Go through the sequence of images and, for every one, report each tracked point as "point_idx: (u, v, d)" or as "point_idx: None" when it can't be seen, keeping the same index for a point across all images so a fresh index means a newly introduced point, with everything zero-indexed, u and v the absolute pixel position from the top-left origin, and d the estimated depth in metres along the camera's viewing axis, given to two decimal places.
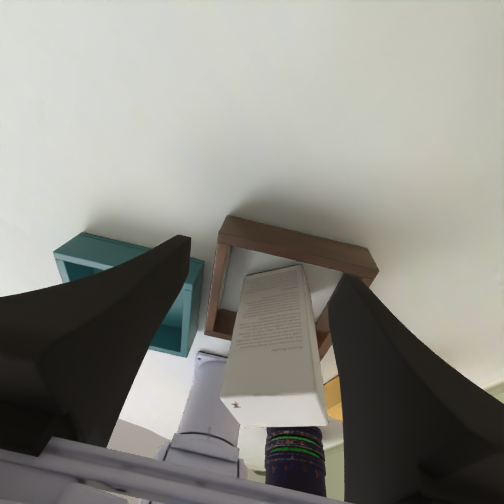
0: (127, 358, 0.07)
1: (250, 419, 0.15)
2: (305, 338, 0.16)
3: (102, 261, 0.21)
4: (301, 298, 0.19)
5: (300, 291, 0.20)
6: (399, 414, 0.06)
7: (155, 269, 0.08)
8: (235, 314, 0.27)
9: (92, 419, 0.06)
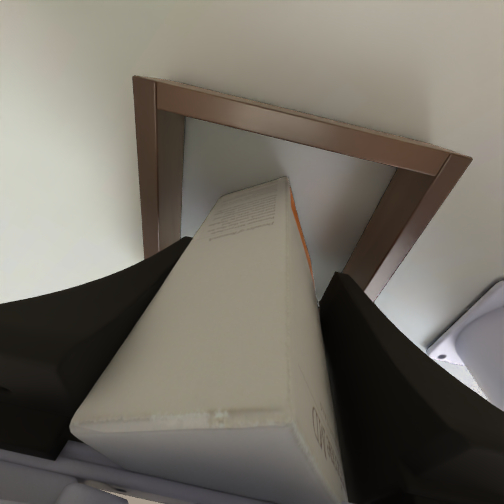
0: None
1: None
2: None
3: None
4: None
5: None
6: (383, 410, 0.06)
7: (165, 272, 0.08)
8: None
9: None
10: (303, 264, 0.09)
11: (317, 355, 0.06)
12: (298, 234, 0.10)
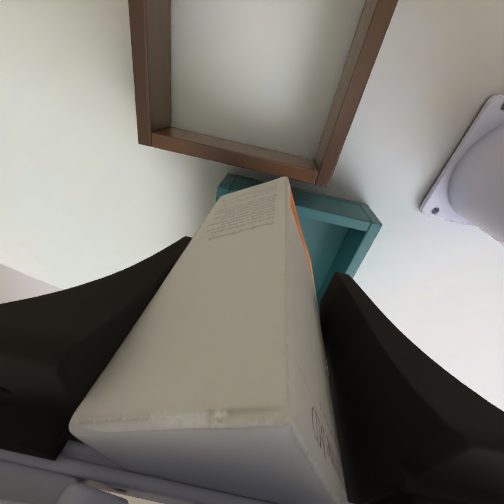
0: None
1: None
2: None
3: None
4: None
5: None
6: (383, 410, 0.06)
7: (165, 272, 0.08)
8: (323, 133, 0.17)
9: None
10: (303, 264, 0.09)
11: (316, 355, 0.06)
12: (298, 234, 0.10)
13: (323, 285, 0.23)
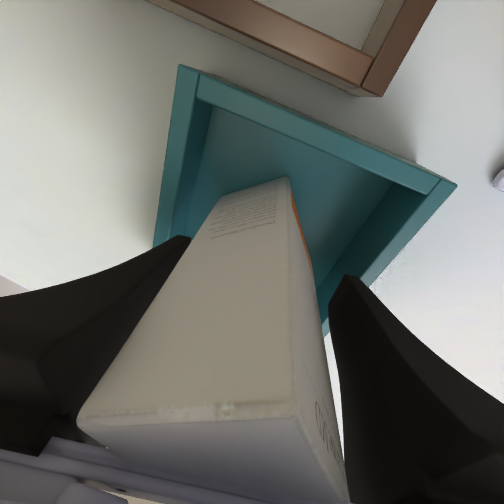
0: None
1: None
2: None
3: (154, 245, 0.13)
4: None
5: None
6: (399, 414, 0.06)
7: (155, 270, 0.08)
8: (382, 9, 0.09)
9: None
10: (304, 263, 0.09)
11: (318, 352, 0.06)
12: (299, 233, 0.10)
13: (325, 281, 0.16)
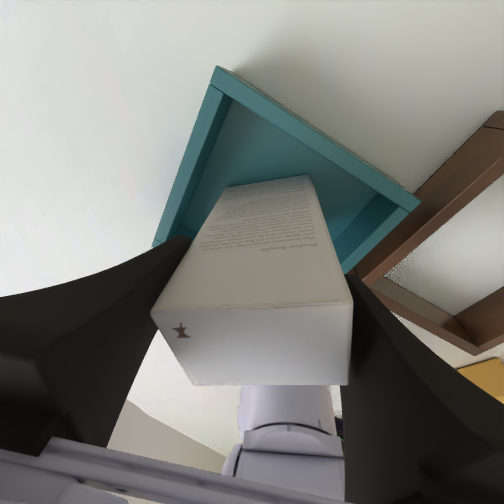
0: (127, 358, 0.07)
1: (206, 365, 0.08)
2: (321, 234, 0.09)
3: (294, 116, 0.12)
4: (311, 198, 0.12)
5: (309, 193, 0.13)
6: (399, 414, 0.06)
7: (155, 269, 0.08)
8: None
9: (92, 419, 0.06)
10: None
11: None
12: None
13: None
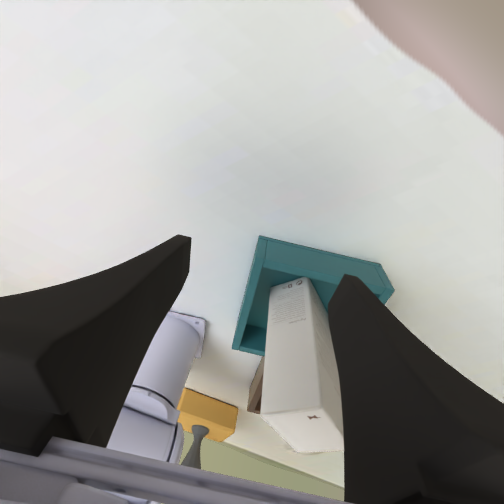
0: (127, 358, 0.07)
1: (287, 422, 0.15)
2: None
3: None
4: None
5: None
6: (399, 414, 0.06)
7: (155, 269, 0.08)
8: None
9: (92, 419, 0.06)
10: None
11: None
12: None
13: None
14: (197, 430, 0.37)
